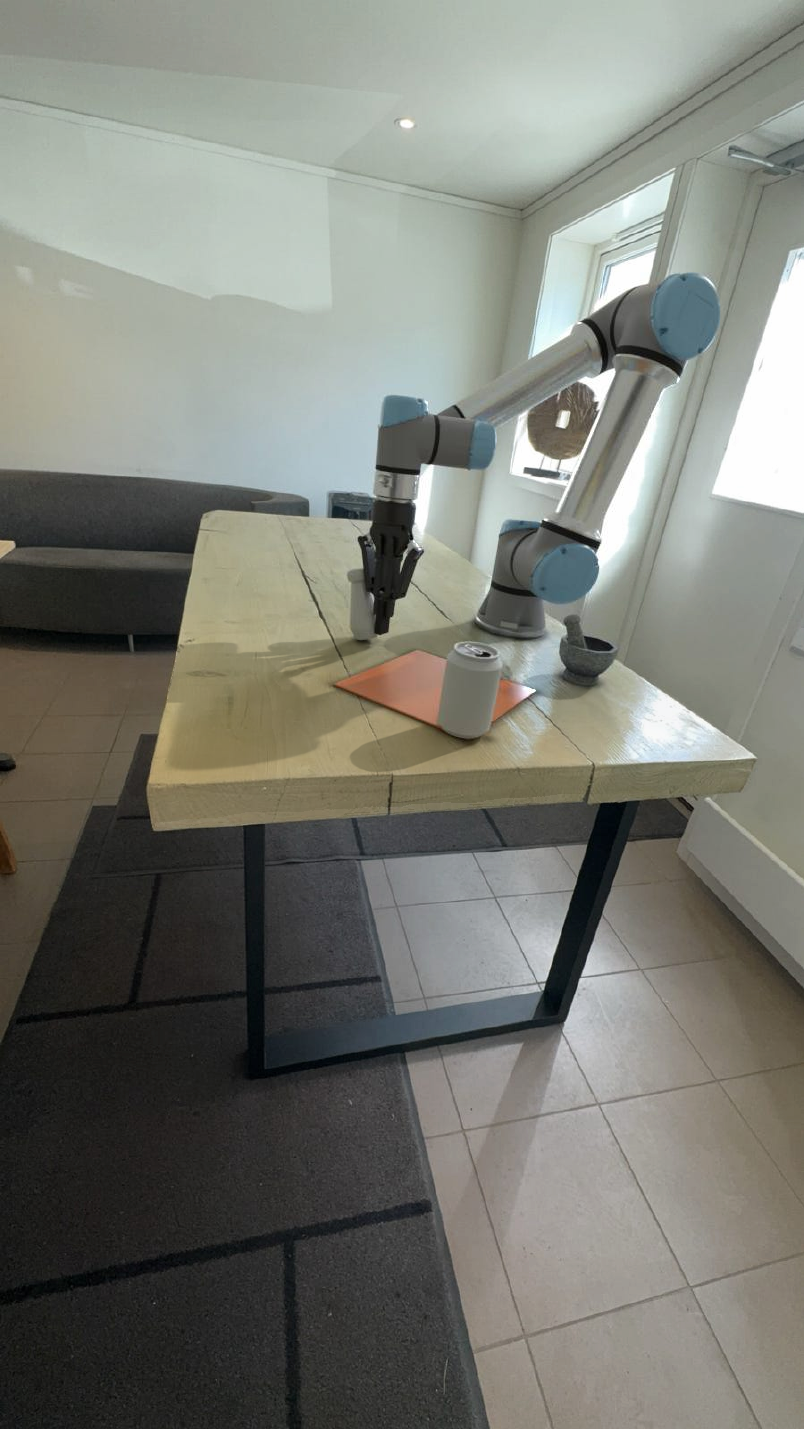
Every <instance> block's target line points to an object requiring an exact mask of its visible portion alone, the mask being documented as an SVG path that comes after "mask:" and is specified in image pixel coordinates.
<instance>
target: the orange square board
mask: <svg viewBox="0 0 804 1429" xmlns="http://www.w3.org/2000/svg"><path fill="white" fill-rule="evenodd" d="M446 660H447V658H443V657H440V656H437V655H434V654H431V653H429V652H426V651H423V650H420V649H416V650H413V651H411V652H409V653H406V654H403V655H401V656H399V657H396V658H393V659H391V660H388V661H387V662H383V663H381V664H379V665H377V666H374V667H371V668H369V669H367V670H363V671H362V672H358V673H356V674H354V675H352V676H349V677H347V678H344V679H342V680H339V681H336V682H335V683H333V686H334V687H336V688H339V689H342V690H344V691H347V692H350V693H352V694H354V695H357V696H359V697H362V698H364V699H367V700H368V701H372V702H373V703H376V704H378V705H380V706H383V707H385V708H388V709H391V710H393V711H396V712H398V713H400V714H403V715H405V716H407V717H410V718H412V719H415V720H418V721H421V722H422V723H425V724H428V725H430V726H432V727H434V728H437V729H440V730H442V731H444V730H443V728H442V727H441V726H440V725H439V723H438V722H437V716H438V710H439V704H440V698H441V691H442V685H443V679H444V673H445V667H446ZM536 692H537V690H536V689H534V688H530V687H528V686H525V685H521V684H519V683H517V682H513V681H510V680H507V679H504V678H501V677H500V682H499V687H498V691H497V696H496V701H495V706H494V711H493V716H492V720H491V724H493V723H494V722H496V721H497V720H499V718H501V717H503V716H504V715H505V714H507V713H508V712H509V711H511V710H512V709H514V708H515V707H516V706H518V705H519V704H521V703H522V702H524V701H525V700H526V699H528V698H530V697H531V696H533V695H534V694H535V693H536ZM463 739H464V740H465V741H468V740H470V739H471V738H463Z"/></svg>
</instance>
